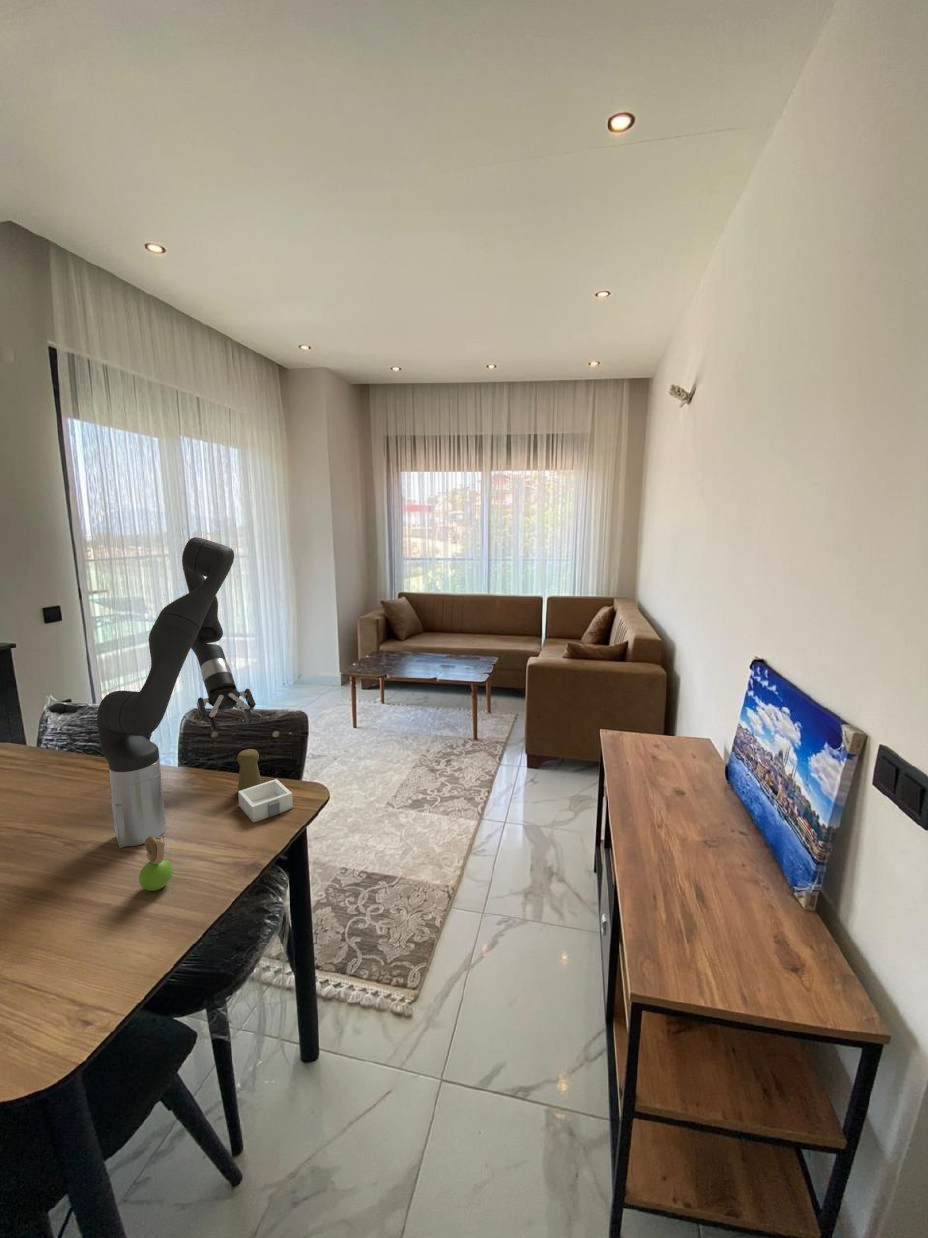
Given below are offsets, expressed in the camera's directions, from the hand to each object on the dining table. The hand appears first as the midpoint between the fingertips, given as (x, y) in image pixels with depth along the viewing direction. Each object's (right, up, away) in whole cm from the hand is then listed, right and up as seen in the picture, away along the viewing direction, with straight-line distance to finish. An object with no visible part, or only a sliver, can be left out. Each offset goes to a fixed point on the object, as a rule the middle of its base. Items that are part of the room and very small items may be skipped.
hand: (233, 727), depth 134 cm
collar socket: (+14, -17, -13) cm, 26 cm away
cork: (+7, -16, -5) cm, 18 cm away
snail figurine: (+5, -22, -41) cm, 47 cm away
